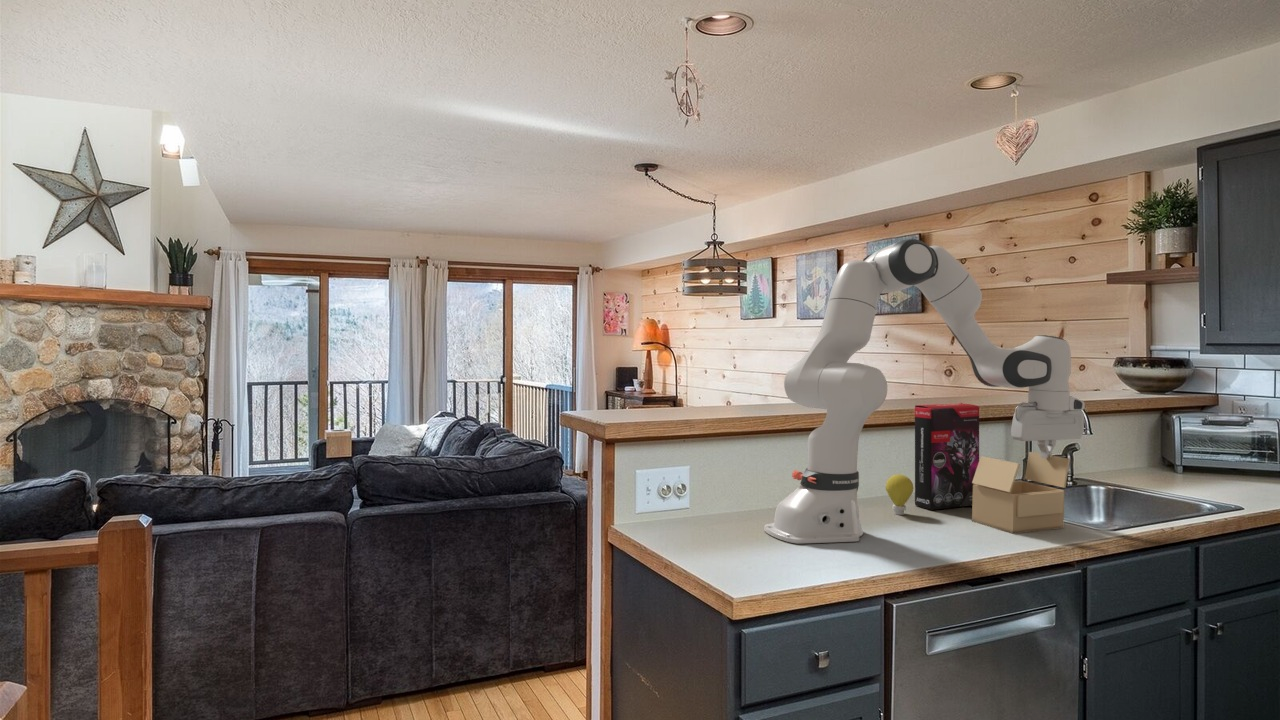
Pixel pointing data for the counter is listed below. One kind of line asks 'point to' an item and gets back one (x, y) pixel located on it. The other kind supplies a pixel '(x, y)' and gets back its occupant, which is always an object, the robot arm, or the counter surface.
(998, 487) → the flap near
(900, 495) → the light bulb
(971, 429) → the graphics card box
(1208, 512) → the counter surface
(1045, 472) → the flap far
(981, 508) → the carton
